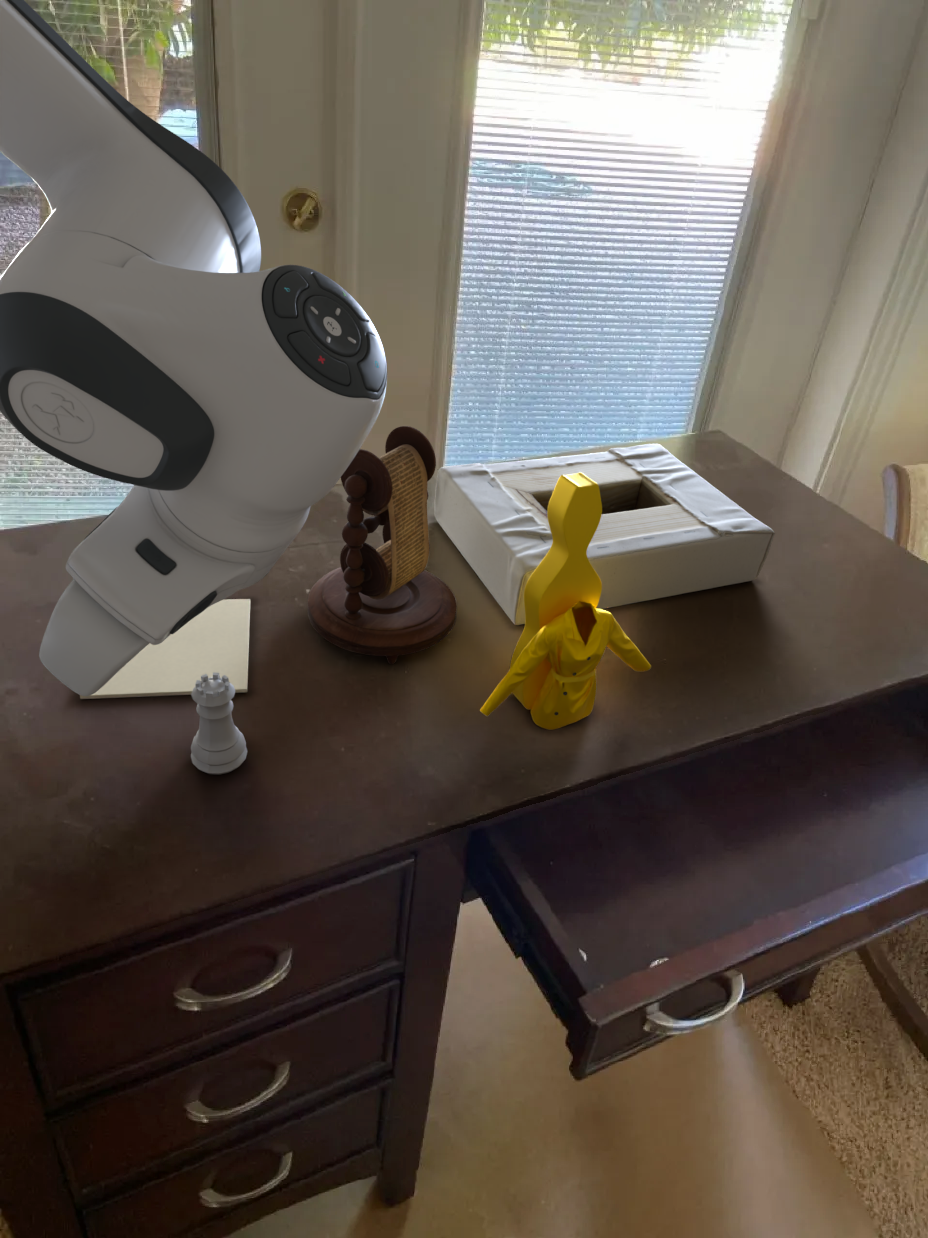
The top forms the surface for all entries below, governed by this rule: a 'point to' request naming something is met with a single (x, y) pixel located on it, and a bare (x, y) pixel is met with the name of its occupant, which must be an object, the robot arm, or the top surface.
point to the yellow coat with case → (564, 618)
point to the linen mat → (189, 656)
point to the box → (602, 525)
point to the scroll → (385, 558)
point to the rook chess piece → (216, 727)
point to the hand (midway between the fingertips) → (150, 620)
